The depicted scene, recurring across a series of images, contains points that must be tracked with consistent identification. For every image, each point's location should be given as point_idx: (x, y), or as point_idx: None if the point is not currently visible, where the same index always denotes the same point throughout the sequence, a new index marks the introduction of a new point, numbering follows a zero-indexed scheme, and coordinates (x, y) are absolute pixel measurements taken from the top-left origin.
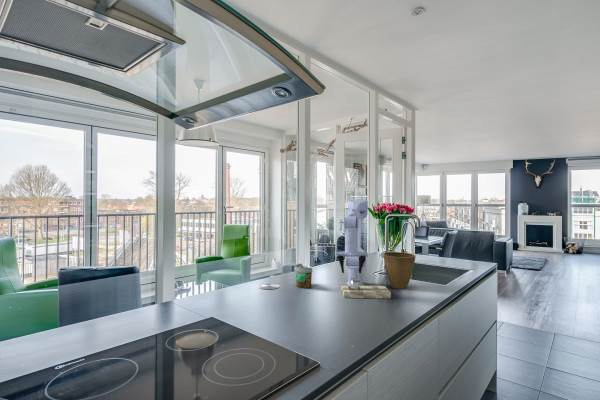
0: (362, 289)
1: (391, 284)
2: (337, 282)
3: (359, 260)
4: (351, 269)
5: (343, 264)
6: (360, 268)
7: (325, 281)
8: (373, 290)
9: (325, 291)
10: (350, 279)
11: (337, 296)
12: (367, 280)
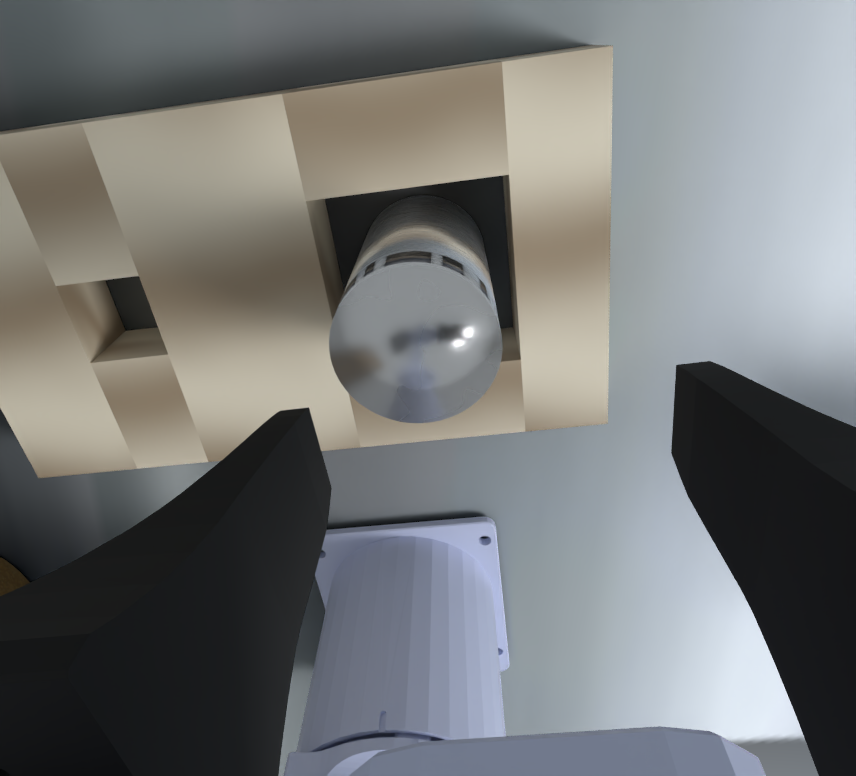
0: (307, 260)
1: (8, 591)
2: (599, 657)
3: (234, 713)
4: (464, 733)
5: (813, 455)
6: (254, 457)
7: (724, 673)
8: (139, 231)
9: (811, 329)
10: (501, 340)
11: (684, 110)
12: (295, 735)
